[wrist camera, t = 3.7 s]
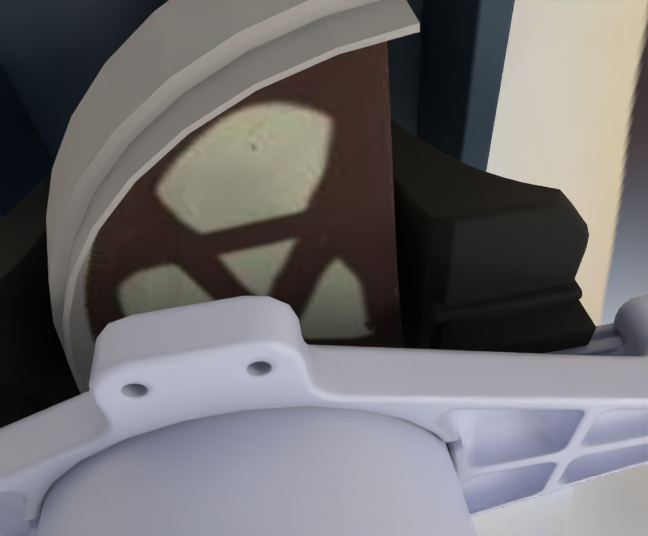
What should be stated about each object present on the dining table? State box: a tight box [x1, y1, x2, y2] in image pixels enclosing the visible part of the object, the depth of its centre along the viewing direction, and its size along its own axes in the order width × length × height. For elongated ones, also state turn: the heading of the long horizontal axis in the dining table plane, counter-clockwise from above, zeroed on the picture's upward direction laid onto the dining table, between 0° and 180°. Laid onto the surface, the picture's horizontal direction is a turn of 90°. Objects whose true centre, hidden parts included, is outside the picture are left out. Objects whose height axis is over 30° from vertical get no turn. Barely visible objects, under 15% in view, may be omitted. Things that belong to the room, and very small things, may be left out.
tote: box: [0, 0, 515, 219], centre depth 15 cm, size 13×16×4 cm
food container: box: [46, 0, 420, 394], centre depth 13 cm, size 12×6×10 cm, turn 7°
